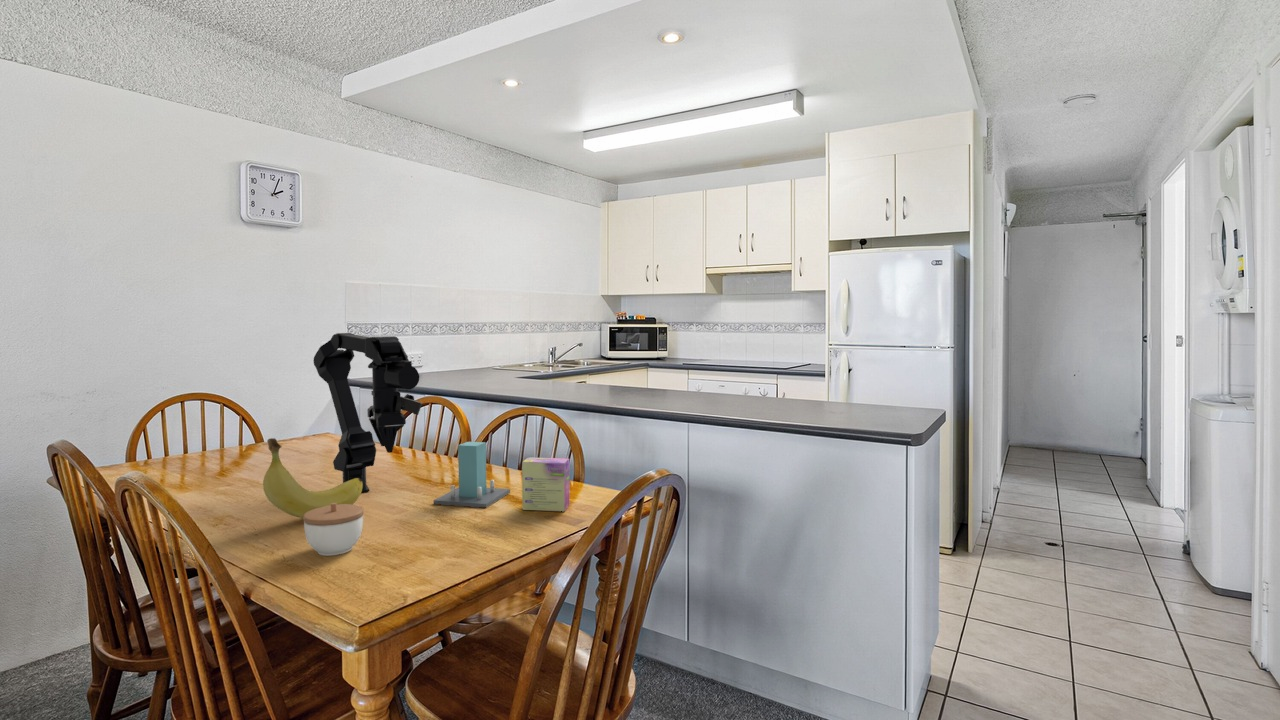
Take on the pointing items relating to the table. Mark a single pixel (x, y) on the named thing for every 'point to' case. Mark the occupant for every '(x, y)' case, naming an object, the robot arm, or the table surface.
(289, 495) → the banana
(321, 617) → the table surface
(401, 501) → the table surface
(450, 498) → the base plate
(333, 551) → the lidded jar
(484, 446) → the teal block
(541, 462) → the box
